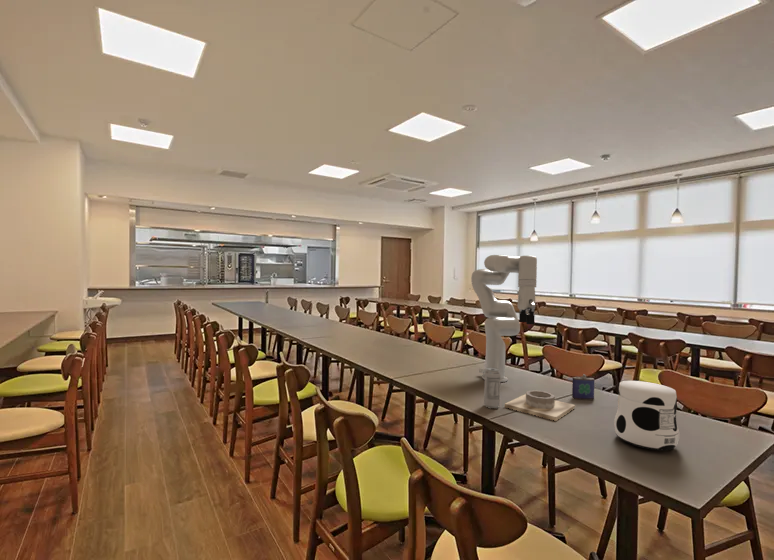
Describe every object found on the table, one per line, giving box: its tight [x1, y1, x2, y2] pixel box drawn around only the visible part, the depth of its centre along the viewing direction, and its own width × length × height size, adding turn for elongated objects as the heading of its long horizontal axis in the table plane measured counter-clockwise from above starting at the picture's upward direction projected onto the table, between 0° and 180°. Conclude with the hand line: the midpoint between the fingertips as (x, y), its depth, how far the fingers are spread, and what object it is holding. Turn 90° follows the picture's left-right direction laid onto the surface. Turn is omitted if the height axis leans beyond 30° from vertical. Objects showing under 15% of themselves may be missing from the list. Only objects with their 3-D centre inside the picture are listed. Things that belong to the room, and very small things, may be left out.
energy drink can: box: [483, 368, 501, 409], centre depth 156 cm, size 6×6×15 cm
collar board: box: [504, 389, 576, 422], centre depth 156 cm, size 20×20×6 cm
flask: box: [571, 373, 595, 400], centre depth 170 cm, size 9×3×11 cm, turn 87°
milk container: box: [613, 380, 680, 452], centre depth 125 cm, size 17×17×18 cm
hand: (526, 323), depth 171 cm, fingers open, 9 cm apart
